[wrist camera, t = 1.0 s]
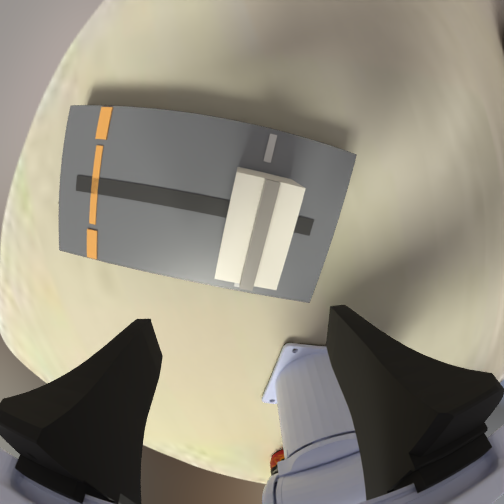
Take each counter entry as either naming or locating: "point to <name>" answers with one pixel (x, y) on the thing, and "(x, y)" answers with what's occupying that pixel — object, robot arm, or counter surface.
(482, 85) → the counter surface
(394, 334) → the counter surface
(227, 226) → the fader knob
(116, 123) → the fader console
